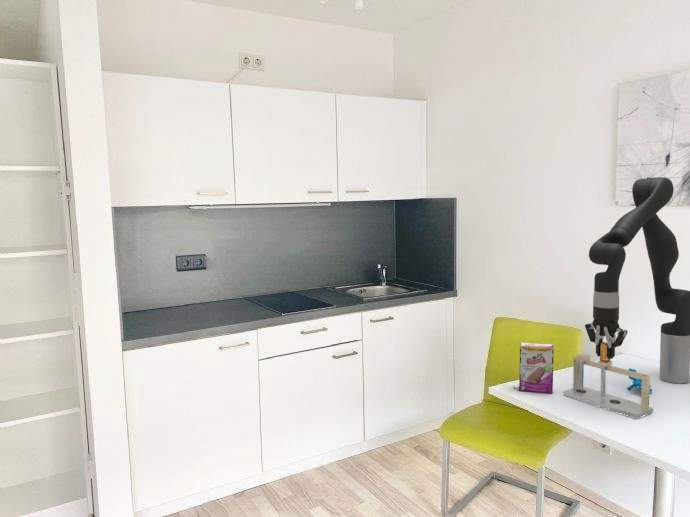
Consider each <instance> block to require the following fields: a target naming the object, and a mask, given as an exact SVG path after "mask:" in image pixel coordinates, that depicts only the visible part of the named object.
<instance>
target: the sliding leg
mask: <svg viewBox="0 0 690 517" xmlns="http://www.w3.org/2000/svg"><path fill="white" fill-rule="evenodd" d="M607 353H608V343H607V341H603V342H600V357H599V360H597V362H598V365H601V369H600V392H601V397H605V393H606V383H607V382H606V377H607V375H606V374H607V373H606V372H607V370H606V367H608V366H613V361H612V360H611V359H608V358H607Z"/></svg>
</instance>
